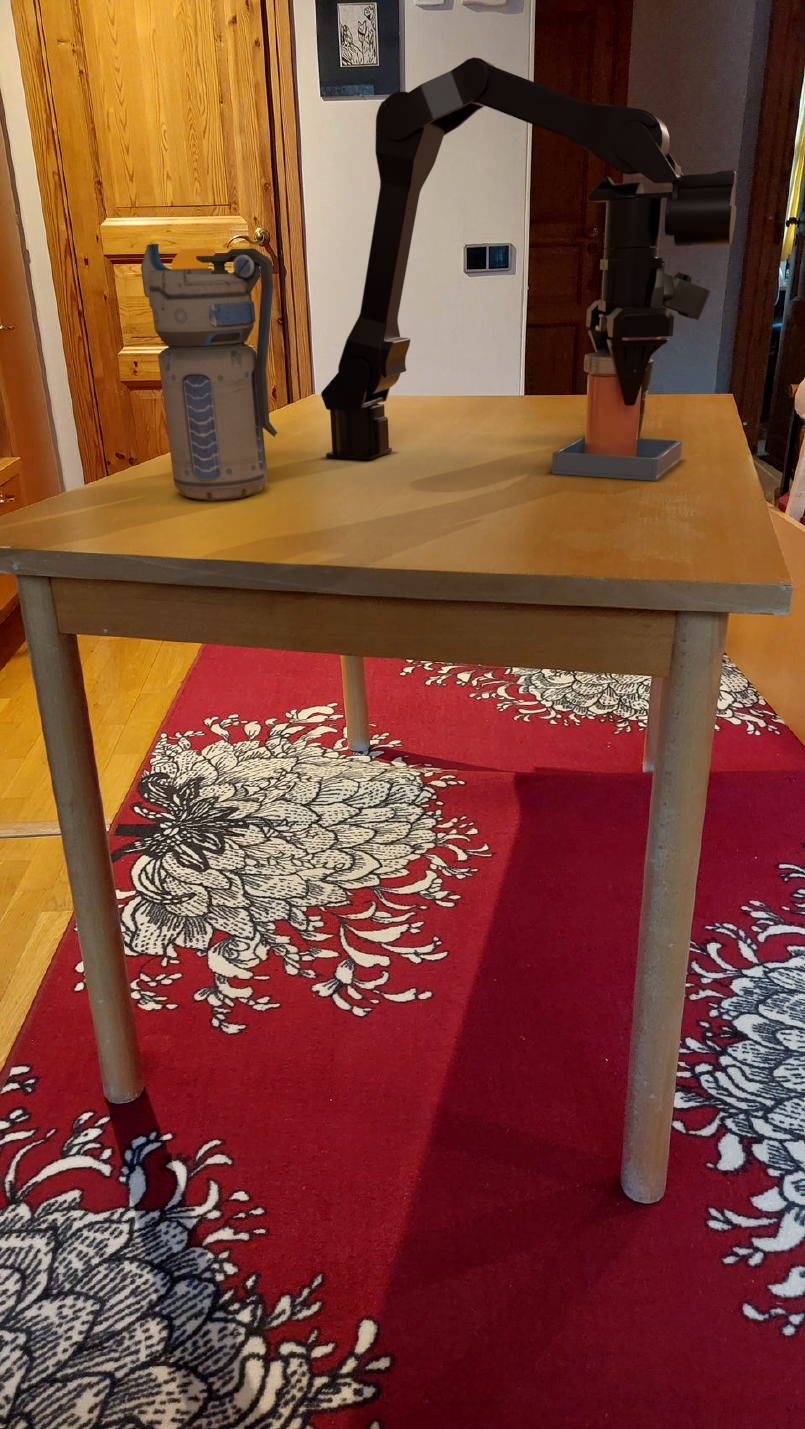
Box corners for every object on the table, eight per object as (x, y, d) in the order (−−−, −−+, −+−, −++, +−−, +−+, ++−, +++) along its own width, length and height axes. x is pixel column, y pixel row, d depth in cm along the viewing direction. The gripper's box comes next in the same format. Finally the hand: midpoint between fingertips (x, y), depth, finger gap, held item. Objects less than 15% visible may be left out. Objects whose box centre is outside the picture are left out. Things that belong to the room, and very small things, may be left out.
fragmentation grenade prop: (278, 503, 103) (256, 240, 92) (157, 504, 105) (121, 244, 94) (298, 482, 112) (280, 240, 102) (185, 483, 114) (156, 244, 103)
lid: (652, 373, 107) (653, 356, 107) (589, 375, 107) (589, 358, 107) (639, 366, 114) (640, 350, 113) (579, 368, 114) (580, 352, 113)
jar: (602, 471, 111) (608, 364, 106) (573, 462, 116) (578, 359, 111) (646, 465, 113) (654, 360, 109) (616, 457, 118) (622, 356, 114)
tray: (551, 474, 113) (552, 452, 112) (583, 455, 122) (584, 435, 121) (656, 481, 108) (657, 459, 107) (680, 460, 117) (682, 440, 116)
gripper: (732, 245, 96) (715, 409, 103) (685, 246, 113) (673, 387, 120) (618, 249, 97) (609, 412, 103) (589, 249, 114) (582, 390, 120)
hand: (621, 399), depth 112 cm, fingers open, 9 cm apart
